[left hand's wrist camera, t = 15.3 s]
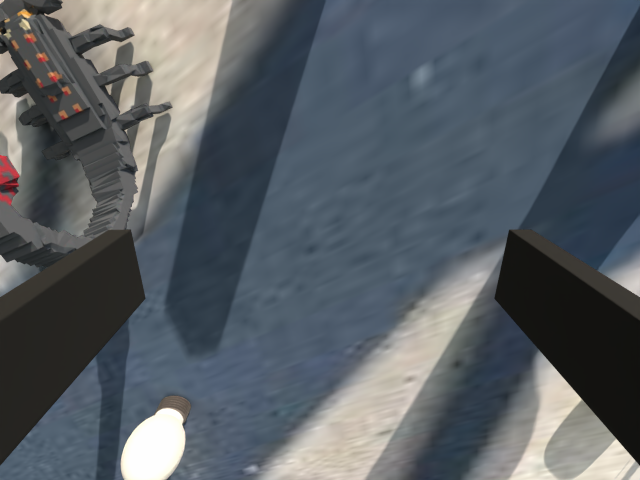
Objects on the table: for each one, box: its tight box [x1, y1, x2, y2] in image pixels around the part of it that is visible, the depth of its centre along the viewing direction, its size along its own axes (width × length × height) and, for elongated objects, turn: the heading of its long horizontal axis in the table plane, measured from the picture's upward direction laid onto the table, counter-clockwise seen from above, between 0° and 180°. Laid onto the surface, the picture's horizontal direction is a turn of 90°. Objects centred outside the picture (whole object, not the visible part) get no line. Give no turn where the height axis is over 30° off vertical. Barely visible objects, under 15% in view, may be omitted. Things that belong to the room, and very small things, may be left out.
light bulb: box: [121, 396, 191, 480], centre depth 44 cm, size 7×7×11 cm
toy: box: [0, 0, 172, 267], centre depth 26 cm, size 13×27×18 cm, turn 22°
